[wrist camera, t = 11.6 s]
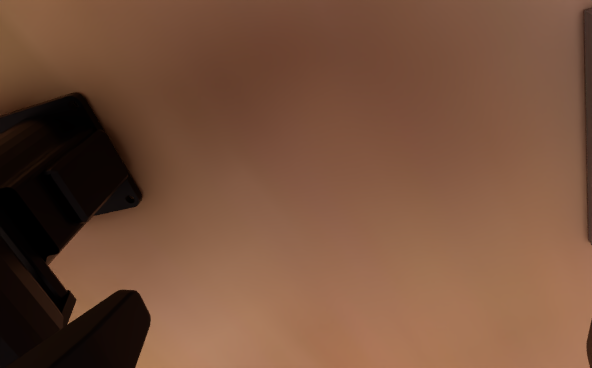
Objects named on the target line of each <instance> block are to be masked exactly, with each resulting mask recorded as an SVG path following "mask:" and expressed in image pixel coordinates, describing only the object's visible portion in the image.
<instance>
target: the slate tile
mask: <svg viewBox="0 0 592 368" xmlns="http://www.w3.org/2000/svg"><path fill="white" fill-rule="evenodd" d="M584 31H585V84H586V136H587V189H588V240H589V242H590V244H591V245H592V8H590V9H587V10H584Z"/></svg>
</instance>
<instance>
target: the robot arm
mask: <svg viewBox="0 0 592 368" xmlns="http://www.w3.org/2000/svg"><path fill="white" fill-rule="evenodd" d="M73 101H74V102H76V103H77V104H78V107H76V106H75V105H74V103H73ZM130 196H132V197H133V198H134V199H132V198H131V197H130ZM141 200H142V195H141V192H140V191H139V189H138V187H137V186H136V184H135V182H134V181H133V179H132V177H131V175H130V174H129V172H128V170H127V169H126V167H125V165H124V164H123V162H122V160H121V158H120V157H119V155H118V153H117V152H116V150H115V148H114V146H113V145H112V143H111V141H110V140H109V138H108V136H107V135H106V133H105V131H104V129H103V128H102V126H101V124H100V123H99V121H98V119H97V117H96V116H95V114H94V112H93V111H92V109H91V107H90V106H89V104H88V102H87V100H86V99H85V98H84V97H83V96H82V95H80V94H78V93H71V94H68V95H65V96H62V97H59V98H56V99H52V100H49V101H46V102H43V103H40V104H37V105H34V106H31V107H28V108H24V109H21V110H18V111H15V112H12V113H9V114H6V115H3V116H0V368H135V367H136V364H137V361H138V358H139V355H140V353H141V350H142V347H143V344H144V341H145V338H146V335H147V332H148V330H149V327H150V322H151V318H150V314H149V311H148V310H147V308H146V306H145V304H144V302H143V300H142V298H141V296H140V294H139V293H138V292H137V291H135V290H119V291H117V292H115V293H114V294H112V295H111V296H109V297H108V298H106V299H105V300H103V301H102V302H100V303H99V304H97V305H96V306H94V307H93V308H92V309H90V310H89V311H87V312H86V313H84V314H83V315H81V316H80V317H78V318H77V319H75V320H74V321H72V322H71V323H69V324H68V321H69V318H70V316H71V313H72V310H73V308H74V305H75V302H76V298H75V297H74V296H73V294H72V293H71V292H70V291H69V290H66V289H65V287H64V286H63V285H62V284H61V282H60V281H59V280H58V278H57V277H56V276H55V274H54V273H53V272H52V270H51V269H50V268H49V266H48V265H49V264H50V263H51V261H52V260H53V259H54V258H55V257H56V256H57V255H58V254H59V253H60V251H61V250H62V249H63V248H64V247H65V246H66V245H67V244H68V243H69V241H70V240H71V239H72V238H73V237H74V236H75V235H76V234H77V233H78V231H79V230H80V229H81V228H82V227H83V226H84V225H85V224H86V223H87V222H88V221H89V220H90V219H91V218H92V217H93V216H95V215H100V214H104V213H109V212H114V211H118V210H123V209H128V208H132V207H136V206H137V205H138V204H139V203H140V202H141ZM67 324H68V325H67ZM587 356H588V361H589V365H590V368H592V320H591V325H590V329H589V334H588V338H587Z"/></svg>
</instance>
